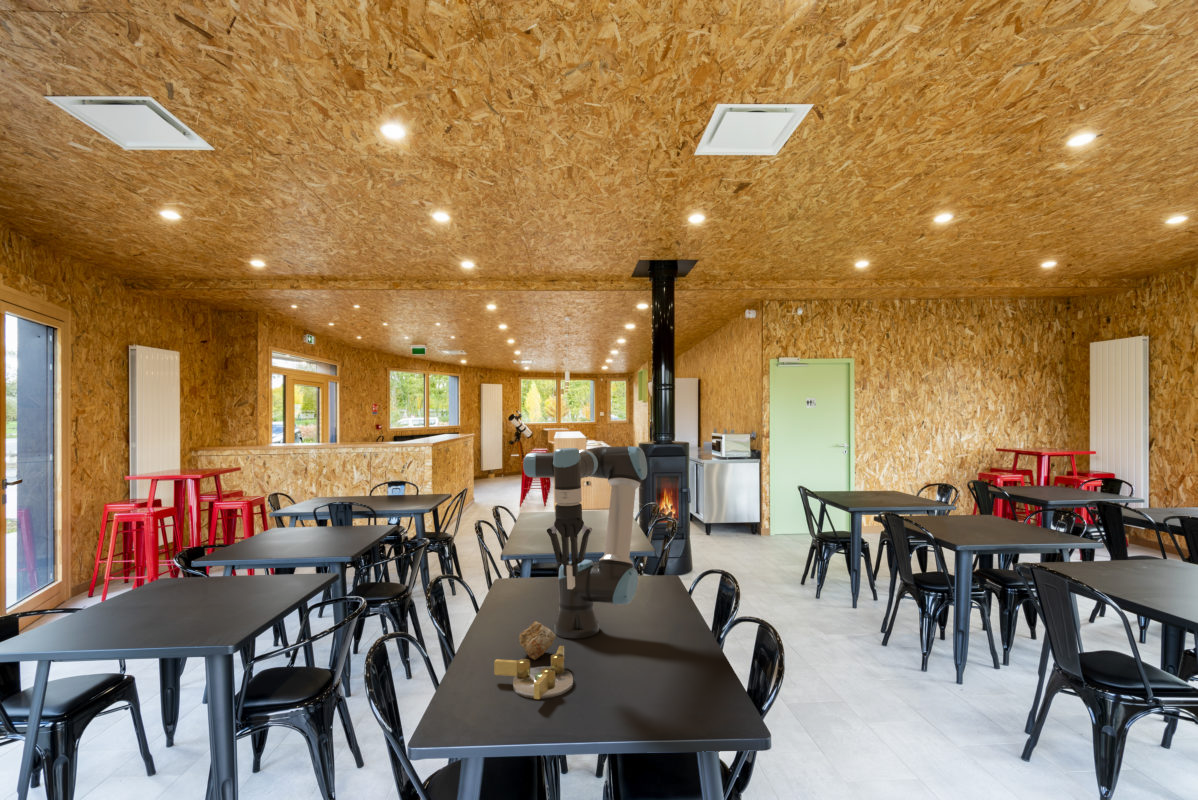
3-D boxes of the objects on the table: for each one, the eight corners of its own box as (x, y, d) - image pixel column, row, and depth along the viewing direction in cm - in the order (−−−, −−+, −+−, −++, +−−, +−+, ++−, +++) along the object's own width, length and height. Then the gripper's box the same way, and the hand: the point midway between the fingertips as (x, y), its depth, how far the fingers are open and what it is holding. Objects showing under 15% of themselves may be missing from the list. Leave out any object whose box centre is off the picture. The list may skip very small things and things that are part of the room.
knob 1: (531, 674, 157) (531, 659, 157) (527, 679, 153) (527, 664, 153) (497, 672, 158) (497, 657, 159) (492, 677, 155) (492, 662, 155)
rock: (559, 652, 177) (559, 619, 177) (546, 665, 167) (545, 630, 167) (524, 648, 180) (524, 616, 181) (509, 661, 171) (508, 626, 171)
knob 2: (544, 682, 151) (544, 667, 151) (557, 683, 150) (556, 668, 151) (529, 699, 142) (529, 682, 142) (543, 701, 141) (543, 684, 141)
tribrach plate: (500, 686, 153) (500, 674, 153) (543, 667, 165) (543, 656, 166) (542, 704, 143) (542, 691, 143) (585, 682, 155) (585, 670, 155)
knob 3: (563, 673, 156) (562, 658, 157) (549, 673, 157) (549, 658, 157) (568, 659, 166) (568, 645, 166) (555, 659, 167) (555, 645, 167)
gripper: (541, 505, 160) (544, 590, 159) (587, 505, 156) (590, 592, 156) (550, 501, 167) (553, 582, 166) (594, 501, 164) (597, 584, 163)
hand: (571, 587), depth 161 cm, fingers closed
